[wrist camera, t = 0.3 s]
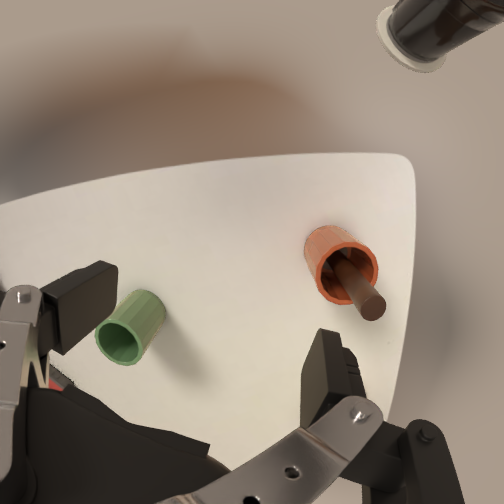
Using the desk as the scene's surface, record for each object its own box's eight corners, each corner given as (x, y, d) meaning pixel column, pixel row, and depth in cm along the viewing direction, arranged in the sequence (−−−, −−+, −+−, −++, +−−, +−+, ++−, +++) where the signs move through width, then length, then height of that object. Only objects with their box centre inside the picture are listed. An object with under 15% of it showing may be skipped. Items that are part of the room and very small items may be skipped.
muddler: (315, 235, 35) (352, 283, 19) (346, 236, 35) (401, 283, 19) (313, 266, 36) (345, 332, 20) (343, 267, 36) (392, 330, 20)
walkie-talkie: (22, 367, 45) (98, 425, 47) (11, 378, 41) (89, 439, 43) (26, 341, 43) (108, 405, 45) (13, 352, 38) (99, 420, 40)
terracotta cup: (305, 224, 35) (318, 241, 26) (355, 226, 35) (381, 242, 26) (302, 274, 37) (313, 304, 28) (350, 275, 37) (373, 304, 28)
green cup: (122, 288, 38) (90, 316, 30) (163, 291, 38) (137, 322, 30) (128, 328, 40) (101, 361, 31) (168, 332, 40) (146, 369, 31)
